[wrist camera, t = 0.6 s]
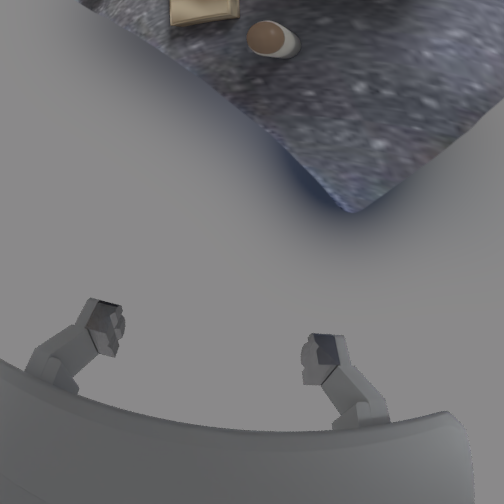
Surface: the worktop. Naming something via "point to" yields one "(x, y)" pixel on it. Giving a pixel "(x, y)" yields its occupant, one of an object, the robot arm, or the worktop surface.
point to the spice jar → (273, 40)
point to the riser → (202, 11)
